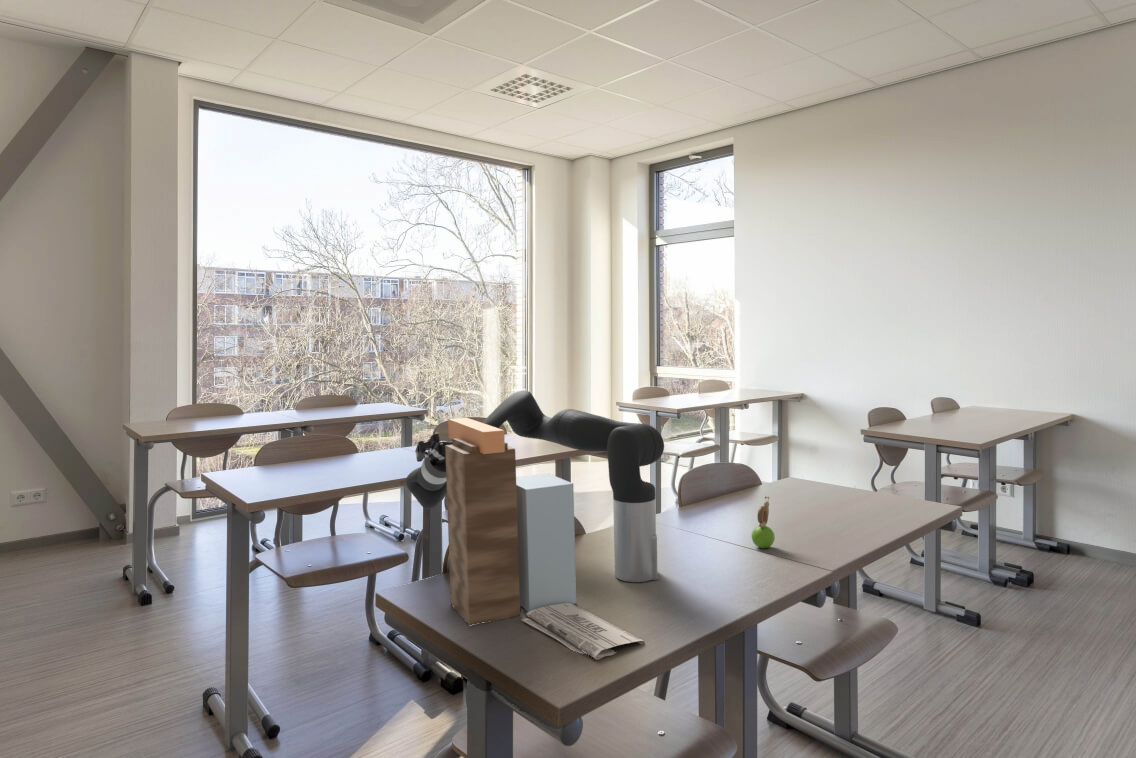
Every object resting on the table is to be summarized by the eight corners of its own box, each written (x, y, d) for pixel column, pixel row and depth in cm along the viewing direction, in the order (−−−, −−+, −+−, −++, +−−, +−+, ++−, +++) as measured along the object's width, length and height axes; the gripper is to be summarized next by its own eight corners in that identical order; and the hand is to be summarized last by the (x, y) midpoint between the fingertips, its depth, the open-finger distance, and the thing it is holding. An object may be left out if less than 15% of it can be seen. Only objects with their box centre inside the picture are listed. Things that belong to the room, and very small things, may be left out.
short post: (507, 592, 143) (503, 478, 141) (550, 584, 147) (547, 473, 146) (529, 613, 132) (526, 489, 130) (576, 603, 136) (573, 483, 135)
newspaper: (518, 624, 129) (518, 610, 129) (571, 614, 136) (572, 601, 136) (590, 669, 110) (590, 653, 110) (647, 655, 117) (648, 640, 117)
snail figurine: (778, 545, 170) (778, 497, 169) (771, 552, 165) (770, 503, 164) (756, 542, 173) (756, 495, 172) (748, 549, 168) (748, 500, 167)
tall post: (450, 604, 137) (445, 439, 135) (497, 594, 142) (492, 434, 140) (469, 626, 127) (463, 447, 125) (520, 615, 131) (515, 442, 129)
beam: (448, 437, 146) (448, 419, 146) (467, 436, 147) (466, 417, 147) (483, 454, 124) (483, 432, 124) (504, 452, 126) (504, 430, 125)
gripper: (406, 451, 156) (421, 421, 143) (467, 445, 163) (485, 416, 150) (412, 482, 153) (426, 454, 140) (473, 475, 160) (492, 448, 147)
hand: (457, 435), depth 145 cm, fingers open, 8 cm apart
